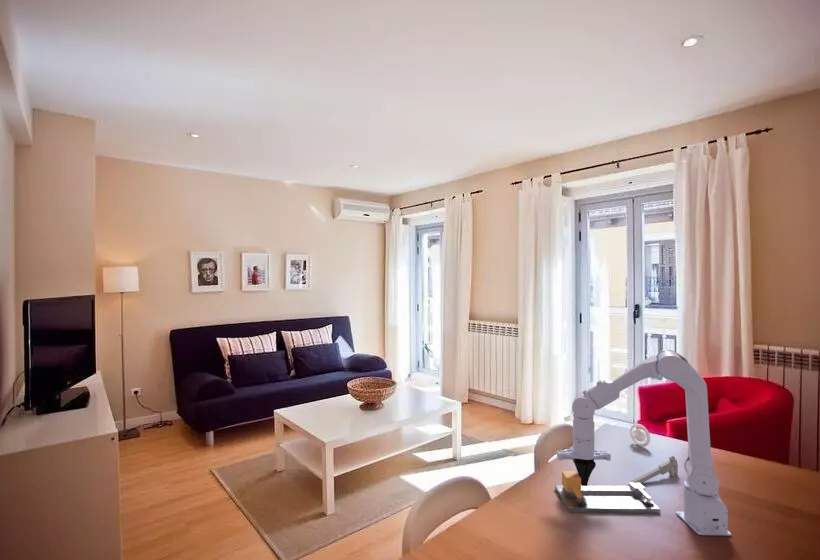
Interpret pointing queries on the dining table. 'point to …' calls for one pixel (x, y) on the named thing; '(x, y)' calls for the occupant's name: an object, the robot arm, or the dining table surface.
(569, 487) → the block
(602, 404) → the robot arm
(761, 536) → the dining table surface
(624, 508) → the board
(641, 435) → the ring around a ball
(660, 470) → the caliper
